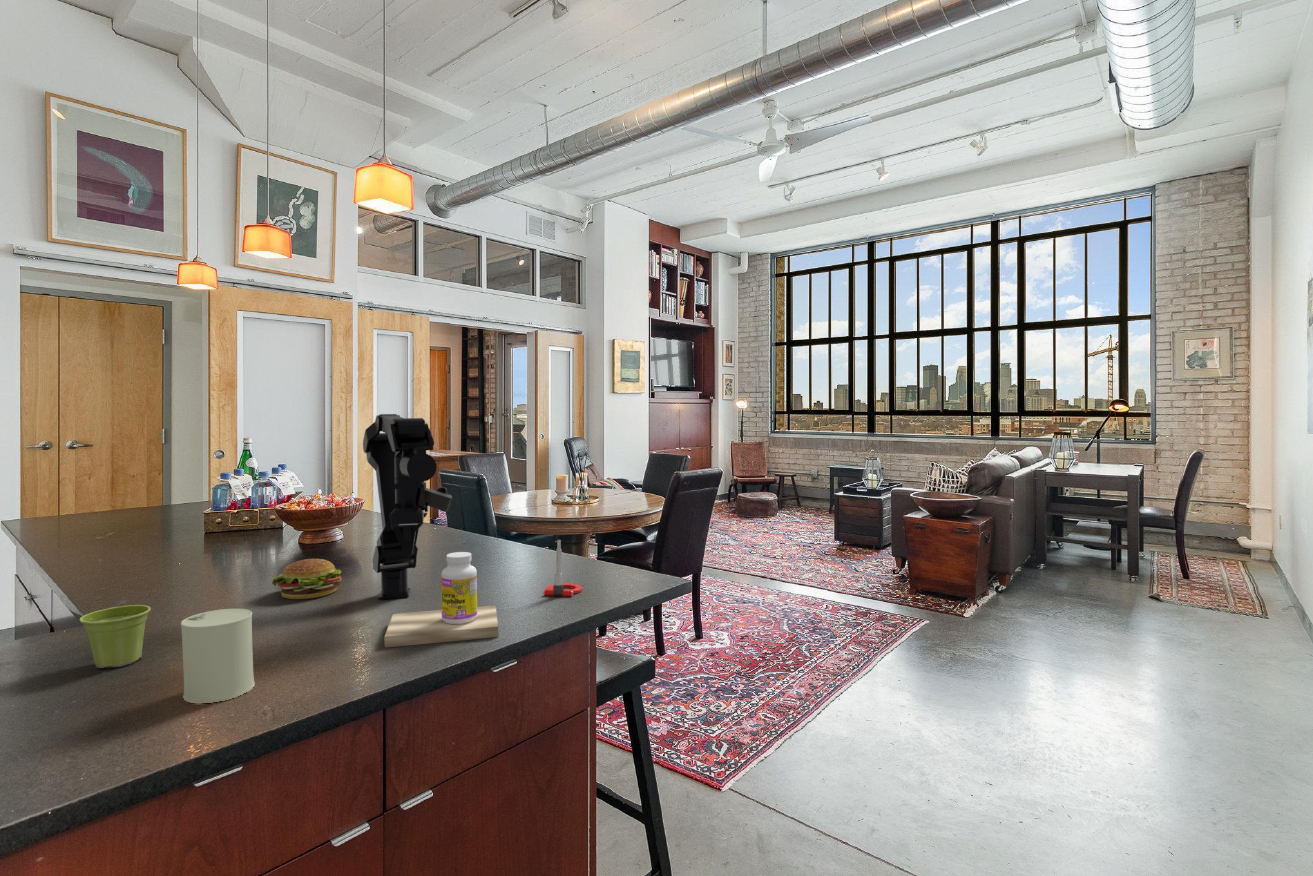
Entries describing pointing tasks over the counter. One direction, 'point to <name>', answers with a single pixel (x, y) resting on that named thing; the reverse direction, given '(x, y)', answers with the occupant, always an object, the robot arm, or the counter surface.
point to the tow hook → (558, 586)
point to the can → (217, 655)
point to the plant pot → (116, 633)
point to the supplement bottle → (459, 589)
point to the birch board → (439, 628)
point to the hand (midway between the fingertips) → (411, 551)
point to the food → (308, 579)
